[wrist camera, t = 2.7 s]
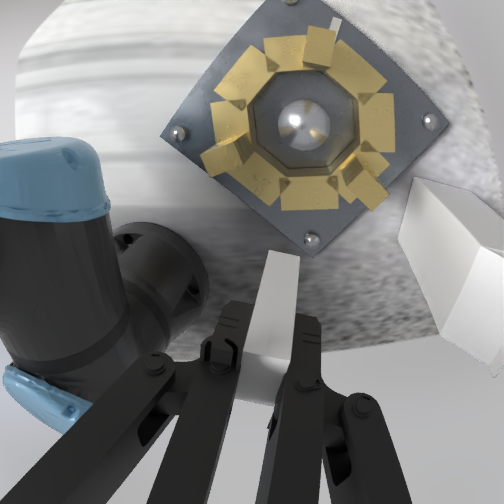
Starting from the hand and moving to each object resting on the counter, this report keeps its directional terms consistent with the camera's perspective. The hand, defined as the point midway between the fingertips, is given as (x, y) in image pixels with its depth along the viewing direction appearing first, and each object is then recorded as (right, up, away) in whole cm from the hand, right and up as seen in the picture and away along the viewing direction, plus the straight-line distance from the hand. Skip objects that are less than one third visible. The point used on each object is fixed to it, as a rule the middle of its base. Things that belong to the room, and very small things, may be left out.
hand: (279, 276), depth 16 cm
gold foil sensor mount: (+3, +13, +11) cm, 17 cm away
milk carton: (+18, +5, +14) cm, 23 cm away
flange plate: (+4, +14, +12) cm, 18 cm away
